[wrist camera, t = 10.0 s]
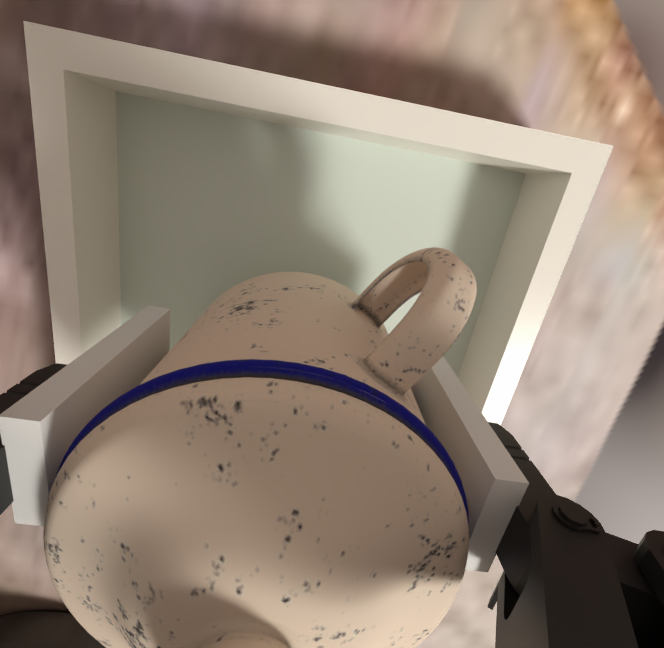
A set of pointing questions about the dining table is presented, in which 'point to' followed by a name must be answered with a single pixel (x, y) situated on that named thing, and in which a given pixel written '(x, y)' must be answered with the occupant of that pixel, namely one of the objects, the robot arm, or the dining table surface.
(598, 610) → the robot arm
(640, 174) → the dining table surface
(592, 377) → the dining table surface
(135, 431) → the teacup with lid
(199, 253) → the tray
